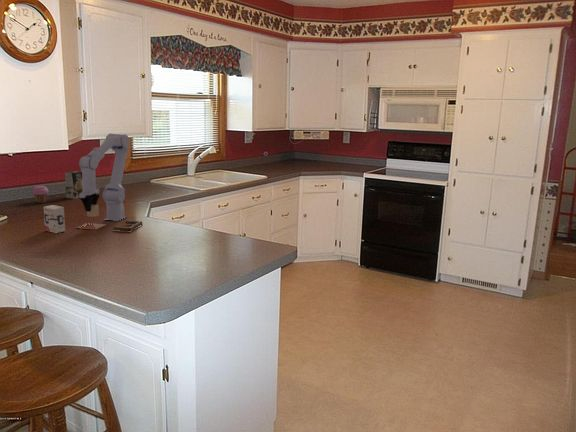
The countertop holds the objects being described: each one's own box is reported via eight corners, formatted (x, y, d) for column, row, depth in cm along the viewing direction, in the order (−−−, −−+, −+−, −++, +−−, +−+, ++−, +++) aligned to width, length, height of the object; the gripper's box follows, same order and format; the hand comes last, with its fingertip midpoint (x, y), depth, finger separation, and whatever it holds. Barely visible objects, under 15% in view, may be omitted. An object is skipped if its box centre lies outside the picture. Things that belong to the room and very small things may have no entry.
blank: (91, 214, 229) (90, 204, 228) (99, 215, 228) (98, 204, 227) (87, 216, 225) (86, 206, 224) (95, 216, 224) (94, 206, 223)
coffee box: (75, 198, 293) (73, 172, 290) (65, 198, 295) (64, 172, 291) (84, 196, 302) (82, 171, 299) (75, 195, 303) (73, 170, 300)
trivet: (86, 224, 233) (86, 223, 233) (106, 225, 232) (106, 224, 232) (75, 229, 223) (75, 227, 223) (96, 230, 222) (96, 229, 222)
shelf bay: (126, 224, 237) (126, 220, 236) (142, 225, 236) (142, 221, 235) (113, 231, 223) (113, 227, 222) (129, 232, 222) (129, 228, 221)
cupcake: (48, 203, 276) (47, 186, 274) (31, 204, 273) (30, 186, 271) (50, 200, 284) (48, 184, 282) (33, 201, 281) (32, 184, 279)
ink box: (44, 231, 217) (42, 206, 215) (54, 229, 221) (52, 204, 219) (56, 234, 213) (54, 208, 210) (66, 232, 217) (64, 207, 215)
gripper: (89, 184, 216) (90, 213, 219) (104, 180, 230) (105, 207, 233) (74, 183, 216) (76, 212, 219) (90, 179, 230) (92, 206, 233)
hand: (90, 210), depth 226 cm, fingers closed on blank, 4 cm apart
